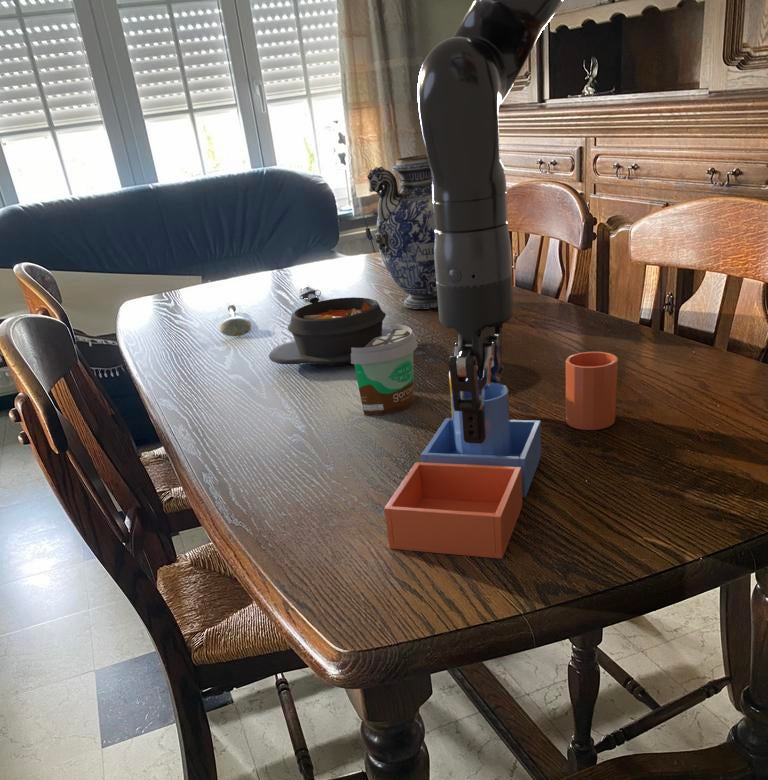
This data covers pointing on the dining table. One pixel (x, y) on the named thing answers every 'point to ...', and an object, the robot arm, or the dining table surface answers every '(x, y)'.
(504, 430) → the blue cup
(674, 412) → the dining table surface
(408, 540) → the terracotta bin
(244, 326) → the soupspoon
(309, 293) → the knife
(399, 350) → the food container
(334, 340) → the casserole
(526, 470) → the blue bin
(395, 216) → the decorative vase
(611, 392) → the terracotta cup
